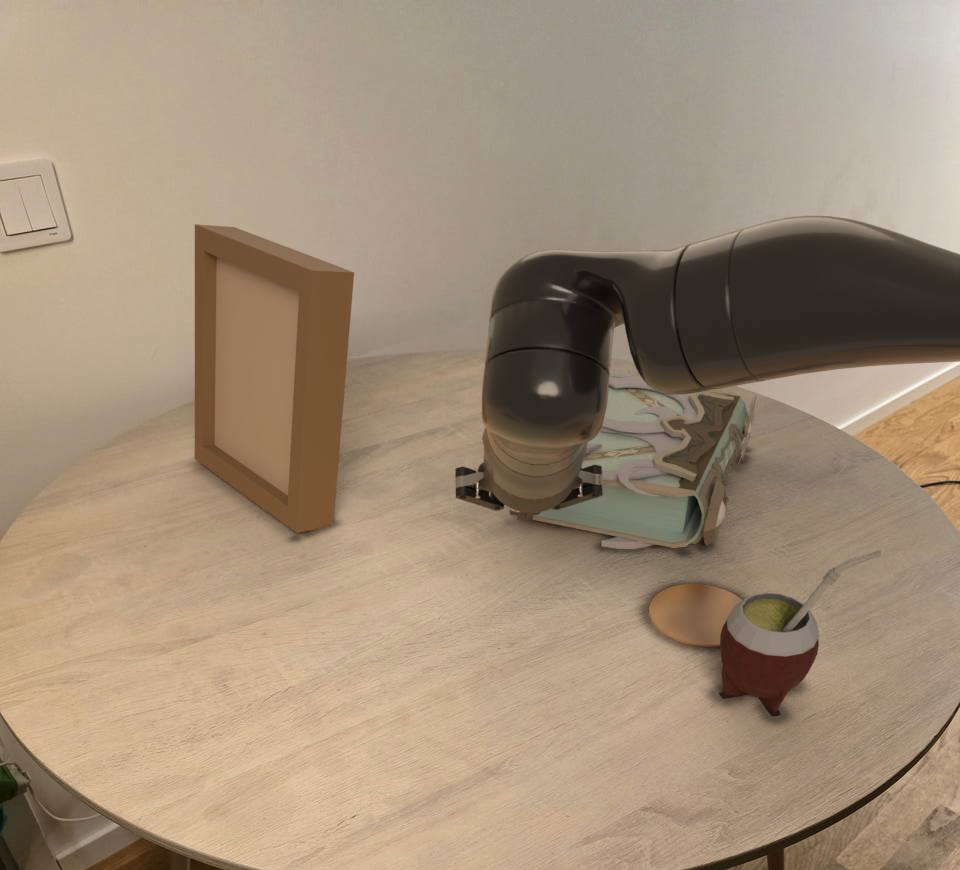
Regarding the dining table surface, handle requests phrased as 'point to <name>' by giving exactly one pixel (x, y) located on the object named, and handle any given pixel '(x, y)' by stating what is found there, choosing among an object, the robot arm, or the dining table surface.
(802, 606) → the mate gourd
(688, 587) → the shallow brown plate
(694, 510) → the ornate book
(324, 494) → the photo frame
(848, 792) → the dining table surface
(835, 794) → the dining table surface
